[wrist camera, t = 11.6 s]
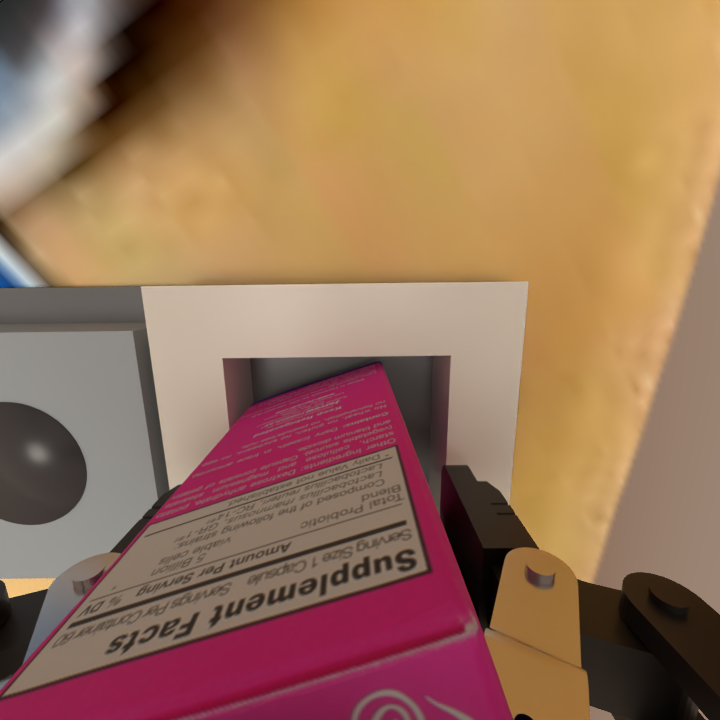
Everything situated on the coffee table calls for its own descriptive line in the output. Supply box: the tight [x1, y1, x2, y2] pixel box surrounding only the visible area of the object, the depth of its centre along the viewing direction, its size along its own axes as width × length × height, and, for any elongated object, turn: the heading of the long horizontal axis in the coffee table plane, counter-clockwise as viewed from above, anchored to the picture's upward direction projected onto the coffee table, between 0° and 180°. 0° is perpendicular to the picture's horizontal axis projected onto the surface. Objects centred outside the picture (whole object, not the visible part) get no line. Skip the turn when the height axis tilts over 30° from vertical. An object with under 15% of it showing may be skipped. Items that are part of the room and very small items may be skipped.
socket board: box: [0, 281, 529, 579], centre depth 15 cm, size 13×25×4 cm, turn 91°
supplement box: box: [0, 361, 513, 720], centre depth 9 cm, size 6×6×12 cm
